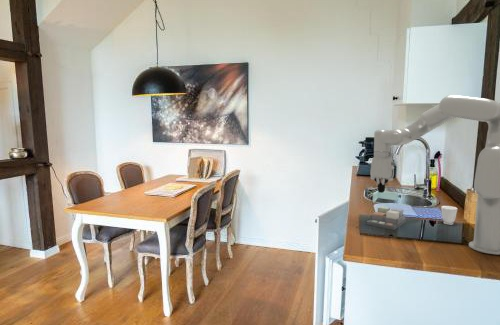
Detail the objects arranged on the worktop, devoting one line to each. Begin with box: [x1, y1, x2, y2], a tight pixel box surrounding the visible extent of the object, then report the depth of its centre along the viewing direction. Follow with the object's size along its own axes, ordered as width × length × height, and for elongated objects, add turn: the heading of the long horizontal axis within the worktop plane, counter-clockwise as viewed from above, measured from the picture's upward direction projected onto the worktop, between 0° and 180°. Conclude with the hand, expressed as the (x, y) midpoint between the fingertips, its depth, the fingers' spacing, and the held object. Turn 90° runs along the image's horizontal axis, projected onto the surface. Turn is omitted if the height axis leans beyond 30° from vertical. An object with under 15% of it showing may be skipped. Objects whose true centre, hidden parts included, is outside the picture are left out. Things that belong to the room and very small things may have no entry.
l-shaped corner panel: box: [372, 190, 399, 203], centre depth 198 cm, size 12×12×8 cm
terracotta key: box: [372, 211, 386, 217], centre depth 160 cm, size 5×5×3 cm
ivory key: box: [386, 209, 399, 219], centre depth 156 cm, size 5×5×3 cm
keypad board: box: [366, 213, 406, 231], centre depth 159 cm, size 13×17×4 cm
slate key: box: [390, 207, 404, 217], centre depth 160 cm, size 5×5×3 cm
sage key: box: [377, 205, 391, 213], centre depth 165 cm, size 5×5×3 cm
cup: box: [440, 205, 458, 226], centre depth 160 cm, size 7×10×8 cm
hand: (381, 192), depth 159 cm, fingers closed
